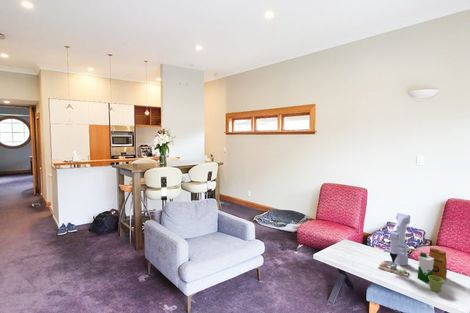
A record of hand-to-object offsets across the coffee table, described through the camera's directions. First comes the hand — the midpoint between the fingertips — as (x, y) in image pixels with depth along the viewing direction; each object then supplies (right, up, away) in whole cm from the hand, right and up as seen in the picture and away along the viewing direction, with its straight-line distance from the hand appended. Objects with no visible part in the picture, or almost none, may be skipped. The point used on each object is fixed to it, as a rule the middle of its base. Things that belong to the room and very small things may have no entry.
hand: (393, 262), depth 227 cm
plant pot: (+15, -10, -27) cm, 33 cm away
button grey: (0, -6, 0) cm, 6 cm away
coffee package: (+31, -9, -7) cm, 33 cm away
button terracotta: (-5, -6, +5) cm, 9 cm away
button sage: (+5, -8, -4) cm, 10 cm away
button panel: (0, -7, 0) cm, 7 cm away
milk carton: (+17, -9, -13) cm, 23 cm away
